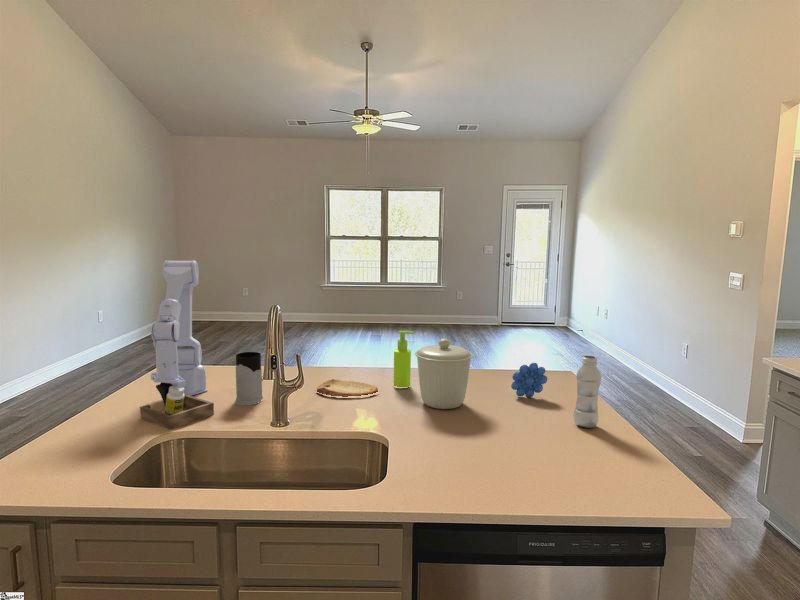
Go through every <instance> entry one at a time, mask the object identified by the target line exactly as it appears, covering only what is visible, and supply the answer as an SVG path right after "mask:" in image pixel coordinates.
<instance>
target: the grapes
mask: <svg viewBox="0 0 800 600" xmlns="http://www.w3.org/2000/svg"><path fill="white" fill-rule="evenodd" d="M518 370H519V371H516V372H514V373H513V374H512V377H511V378H512V380H513V382H512V383H511V385H510V388H511V389H512V390H514V391H516V392H515V394H516V396H517V397H523V396H525V397H526V398H528V399H529V398H530V399H531V398H532V397H533V396H534V395H535V394H540V393H542V392H543V389H544V385H545V384H546V383H547V381H548V376H547V375H546V374H545V373H546V368H545V367H544V366H539V365H538V363H537V362H531V363H530V364H529V365H527V364H521V366H519V369H518Z"/></svg>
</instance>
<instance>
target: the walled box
mask: <svg viewBox="0 0 800 600" xmlns="http://www.w3.org/2000/svg"><path fill="white" fill-rule="evenodd" d="M184 395H185V397H184V404H183V408H187V407H188V408H187V409H186V410H183V411H182V412H179V413H176V414H172V415H168V414H165V412H162V411H159V410H156V409H154V408H152V407H151V404H145V405H142V406H139V410H140V411H139V412H140V420H144V421H145V422H149V423H152V424H153V425H156V426H158V427H162V428H165V429H168V430H173V429H174V428H178V427H181V426H183V425H187V424H190V423H192V422H196V421H199V420H201V419H204V418H207V417H211V416H213V415H215V412H214V411H215V408H214V402H211V401H208V400H205V399H202V398H199V397H195V396H194V395H192V396H189V395H186V394H184ZM184 406H185V407H184ZM190 408H191V409H190Z"/></svg>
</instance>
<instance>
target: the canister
mask: <svg viewBox="0 0 800 600" xmlns="http://www.w3.org/2000/svg"><path fill="white" fill-rule="evenodd" d="M414 356H416V359H417V369H418V370H417V371H418V380H419V389H420V390H419V391H420V397H421V401H422V402H423V403H424V405H426V406H428V407H430V408H434V409H437V410H438V409H439V410H452V409H456V408H458V407H461V405H463V403H464V401H465V399H466V394H467V387H468V380H469V374H470V367H471V361H472V360H471V359H472V358H473V357H474V354H473V352H471V351H469V350H468V349H466V348H464V347H462V346H457V345H451V343H450V340H449V339H447V338H441V339H440V340H439V341H438V344H432V345H431V344H430V345H426V346H423V347H421V348H419V349H418V350H416V351H415V353H414Z"/></svg>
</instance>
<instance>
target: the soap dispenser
mask: <svg viewBox="0 0 800 600" xmlns="http://www.w3.org/2000/svg"><path fill="white" fill-rule="evenodd" d="M398 334H399V339H398V340H397V348H396V349H394V350H393V387H394V386H397V387H409V386H410V387H411V366H412V365H411V362H412V361H411V360H412V359H411V358H412V357H411V356H412V351H411V349H409V348H408V339H406V334H409V335H414V334H415V332H414V331H411V330H398Z"/></svg>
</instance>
